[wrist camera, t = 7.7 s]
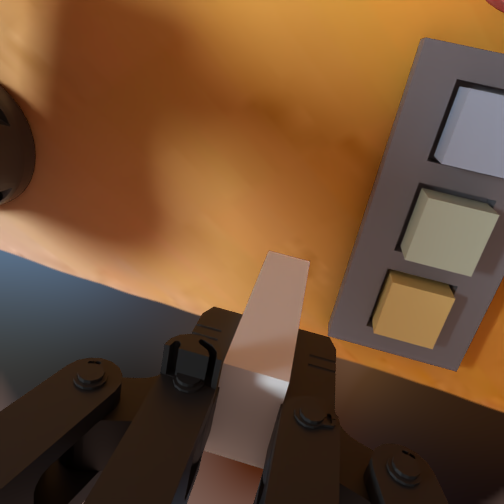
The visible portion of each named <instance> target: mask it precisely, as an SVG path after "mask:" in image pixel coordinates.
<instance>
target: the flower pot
mask: <svg viewBox="0 0 504 504" xmlns="http://www.w3.org/2000/svg"><path fill="white" fill-rule="evenodd" d="M486 1H487V2H488V3H489V4H490V5H492V6H493V7H495V8H496V9H498V10H500V11H502V12H504V0H486Z"/></svg>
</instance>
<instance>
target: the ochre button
mask: <svg viewBox="0 0 504 504" xmlns="http://www.w3.org/2000/svg"><path fill="white" fill-rule="evenodd" d="M454 301H455V297H454V295H453V293H452V291H451V289H450V287H449V285H448V284H446V283H442V282H438V281H435V280H431V279H427V278H423V277H419V276H415V275H411V274H408V273H404V272H400V271H396V270H392V269H389V270H388V273H387V275H386V278H385V281H384V284H383V286H382V289H381V292H380V294H379V297H378V300H377V302H376V305H375V308H374V311H373V313H372V323H373V332H374V333H375V334H378V335H382V336H386V337H389V338H393V339H397V340H400V341H404V342H408V343H411V344H415V345H418V346H422V347H426V348H429V349H433V347H434V345H435V343H436V341H437V338H438V336H439V334H440V332H441V330H442V327H443V325H444V323H445V321H446V319H447V316H448V314H449V312H450V310H451V307H452V305H453V303H454Z"/></svg>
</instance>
